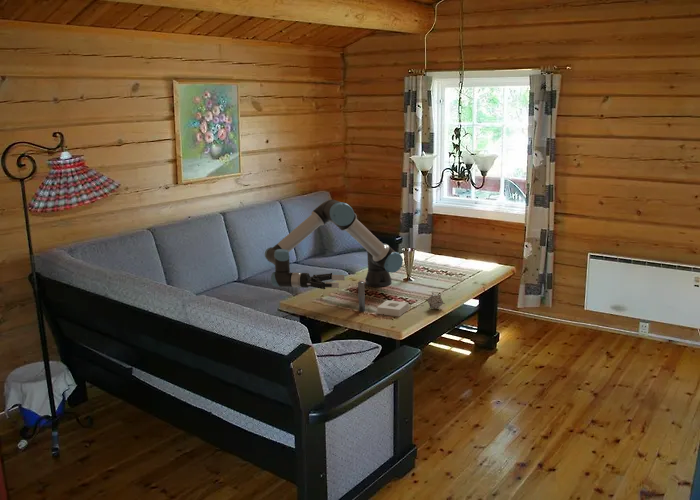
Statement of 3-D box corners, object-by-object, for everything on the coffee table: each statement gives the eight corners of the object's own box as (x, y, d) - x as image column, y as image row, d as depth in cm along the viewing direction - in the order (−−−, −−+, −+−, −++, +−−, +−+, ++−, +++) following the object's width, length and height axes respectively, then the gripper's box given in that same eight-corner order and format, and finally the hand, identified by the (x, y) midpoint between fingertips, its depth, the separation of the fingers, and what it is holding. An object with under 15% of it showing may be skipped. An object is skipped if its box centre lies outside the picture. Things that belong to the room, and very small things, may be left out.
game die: (439, 315, 346) (451, 300, 342) (429, 314, 339) (442, 299, 336) (428, 303, 351) (440, 289, 348) (419, 302, 344) (431, 287, 341)
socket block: (387, 306, 351) (386, 300, 350) (408, 309, 346) (408, 302, 345) (377, 313, 340) (377, 307, 340) (399, 316, 335) (399, 309, 334)
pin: (360, 309, 348) (359, 281, 345) (366, 309, 347) (365, 281, 344) (357, 311, 346) (356, 282, 342) (363, 311, 344) (362, 283, 341)
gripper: (307, 280, 362) (346, 281, 357) (294, 294, 338) (336, 295, 334) (307, 266, 360) (346, 267, 356) (294, 279, 336) (335, 281, 332)
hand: (341, 281), depth 345 cm, fingers open, 13 cm apart
